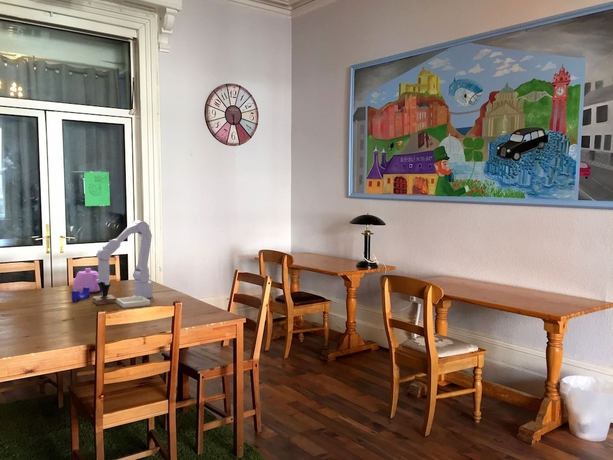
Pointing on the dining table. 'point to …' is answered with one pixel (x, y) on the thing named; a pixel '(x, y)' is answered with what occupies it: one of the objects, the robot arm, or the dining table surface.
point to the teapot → (86, 280)
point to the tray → (133, 301)
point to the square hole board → (104, 299)
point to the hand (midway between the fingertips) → (104, 295)
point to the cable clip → (81, 294)
